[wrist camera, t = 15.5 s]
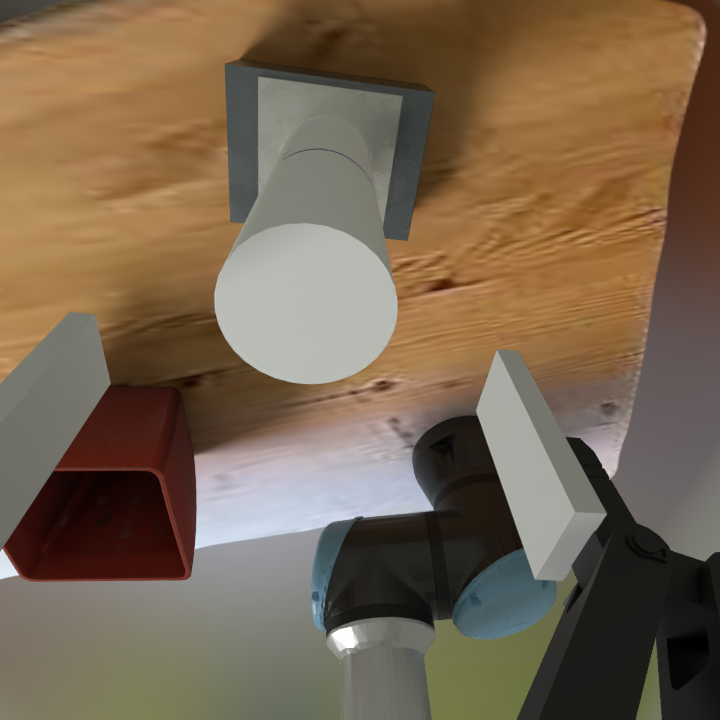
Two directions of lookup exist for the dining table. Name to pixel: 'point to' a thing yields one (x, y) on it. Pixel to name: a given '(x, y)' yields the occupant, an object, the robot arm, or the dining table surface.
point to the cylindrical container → (311, 263)
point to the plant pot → (116, 497)
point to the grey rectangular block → (334, 98)
